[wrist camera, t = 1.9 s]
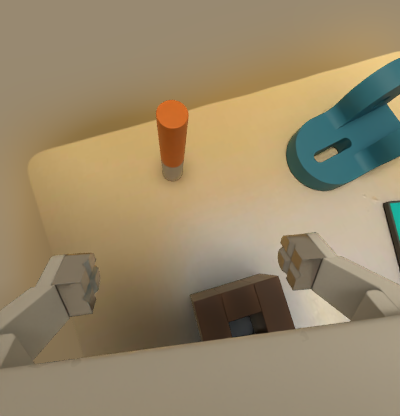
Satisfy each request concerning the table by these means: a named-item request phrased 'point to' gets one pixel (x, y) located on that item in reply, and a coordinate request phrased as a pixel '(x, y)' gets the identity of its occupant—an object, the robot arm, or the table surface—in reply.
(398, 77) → the camera mount
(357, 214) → the table surface
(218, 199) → the table surface
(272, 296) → the pen stand
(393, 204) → the smartphone
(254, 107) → the table surface
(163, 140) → the orange cylinder rod
